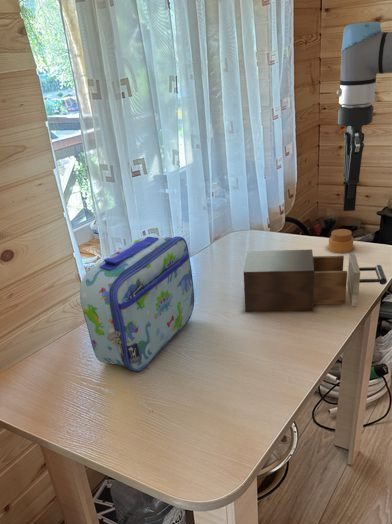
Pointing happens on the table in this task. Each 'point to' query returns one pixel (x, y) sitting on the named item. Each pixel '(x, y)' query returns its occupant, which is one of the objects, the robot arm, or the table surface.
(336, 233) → the orange-brown stepped cylinder
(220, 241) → the table surface
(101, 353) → the lunch box
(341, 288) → the drawer
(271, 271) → the cabinet
